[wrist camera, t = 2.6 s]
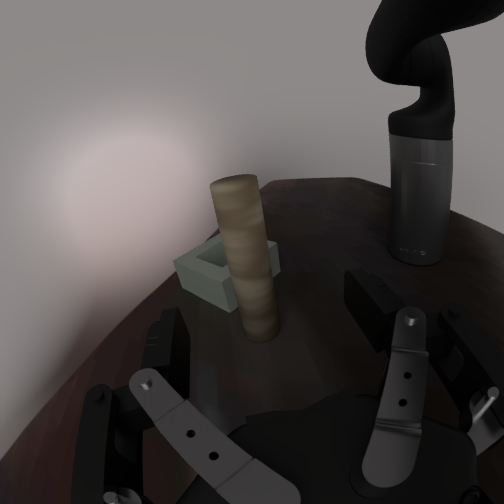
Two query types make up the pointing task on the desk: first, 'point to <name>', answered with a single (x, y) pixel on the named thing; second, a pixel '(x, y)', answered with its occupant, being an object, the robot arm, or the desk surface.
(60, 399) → the desk surface
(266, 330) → the peg
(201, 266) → the socket
